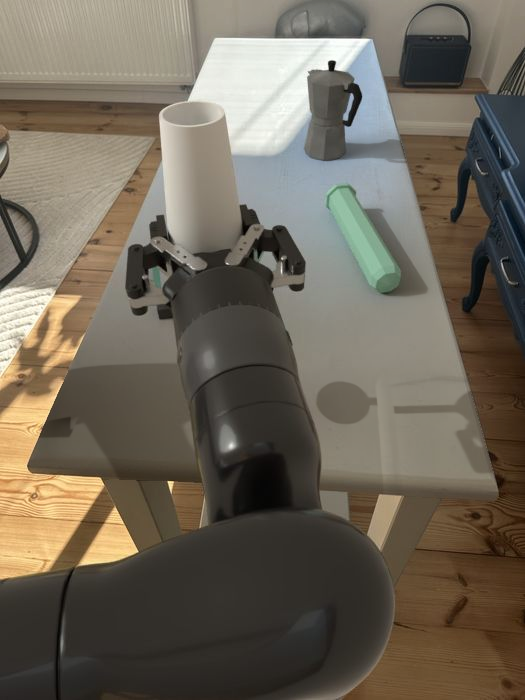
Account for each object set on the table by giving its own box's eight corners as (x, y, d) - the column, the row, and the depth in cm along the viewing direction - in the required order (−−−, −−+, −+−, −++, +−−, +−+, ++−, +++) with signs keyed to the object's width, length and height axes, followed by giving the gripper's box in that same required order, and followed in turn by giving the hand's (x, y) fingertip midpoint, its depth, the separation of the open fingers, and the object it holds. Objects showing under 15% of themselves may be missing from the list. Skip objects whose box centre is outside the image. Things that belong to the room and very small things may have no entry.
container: (404, 263, 69) (350, 176, 86) (366, 280, 70) (320, 191, 87) (411, 289, 74) (358, 202, 90) (374, 305, 75) (329, 216, 91)
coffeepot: (289, 146, 109) (291, 56, 95) (321, 135, 112) (327, 47, 99) (335, 173, 100) (345, 78, 87) (368, 159, 104) (382, 67, 90)
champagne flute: (245, 368, 50) (231, 134, 32) (181, 364, 50) (133, 131, 33) (252, 323, 54) (244, 96, 37) (194, 320, 55) (157, 94, 37)
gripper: (137, 402, 34) (130, 263, 45) (331, 368, 36) (279, 242, 47) (111, 326, 29) (111, 189, 40) (342, 291, 31) (280, 169, 42)
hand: (202, 218), depth 43 cm, fingers closed on champagne flute, 6 cm apart
